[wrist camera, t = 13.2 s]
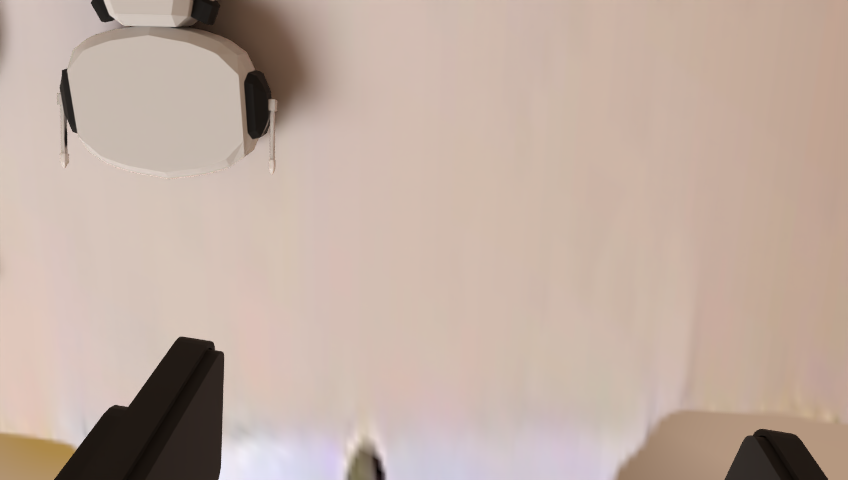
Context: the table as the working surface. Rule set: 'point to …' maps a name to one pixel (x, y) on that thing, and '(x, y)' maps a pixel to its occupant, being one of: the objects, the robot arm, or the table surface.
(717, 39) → the table surface
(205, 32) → the robot toy
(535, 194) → the table surface
